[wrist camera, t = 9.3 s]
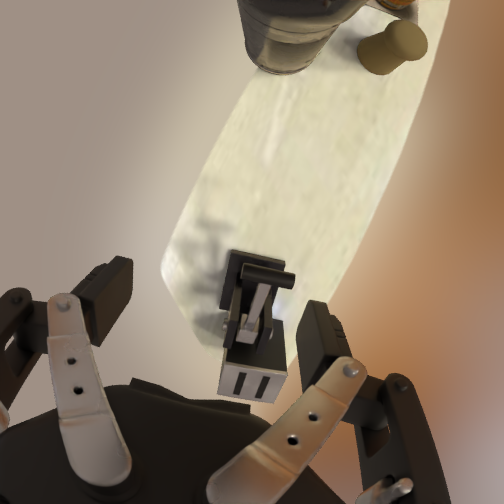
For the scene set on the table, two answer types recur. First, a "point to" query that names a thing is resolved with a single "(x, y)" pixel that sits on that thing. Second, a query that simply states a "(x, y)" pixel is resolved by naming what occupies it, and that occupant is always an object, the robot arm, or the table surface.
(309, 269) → the table surface
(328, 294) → the table surface
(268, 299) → the switch bracket
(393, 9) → the condiment
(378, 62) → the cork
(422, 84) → the table surface
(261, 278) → the switch lever
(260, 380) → the toaster body
